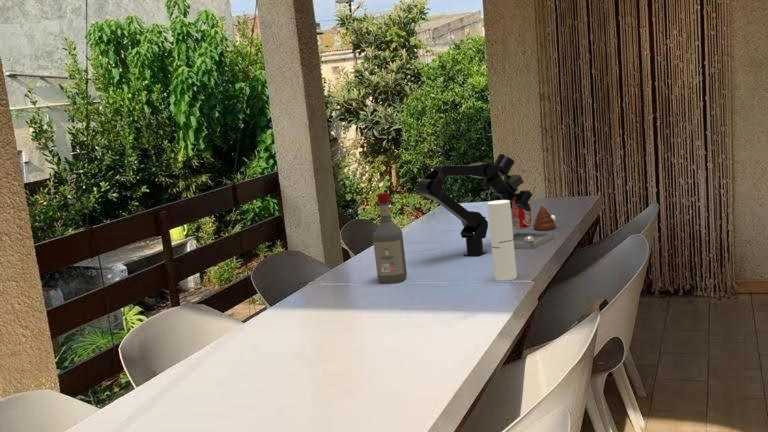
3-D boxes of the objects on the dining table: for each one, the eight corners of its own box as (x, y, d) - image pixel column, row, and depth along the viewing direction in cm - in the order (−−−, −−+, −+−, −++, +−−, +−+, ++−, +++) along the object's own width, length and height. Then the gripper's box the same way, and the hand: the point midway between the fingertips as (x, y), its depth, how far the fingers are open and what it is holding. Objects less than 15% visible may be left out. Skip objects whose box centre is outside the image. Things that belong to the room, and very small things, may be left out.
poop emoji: (529, 229, 351) (527, 207, 349) (546, 225, 354) (544, 203, 353) (543, 232, 342) (541, 209, 340) (560, 228, 345) (559, 205, 344)
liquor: (403, 282, 286) (393, 194, 281) (377, 284, 288) (366, 196, 283) (408, 276, 294) (398, 190, 290) (382, 277, 296) (372, 192, 292)
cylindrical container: (516, 280, 272) (509, 203, 268) (493, 281, 274) (486, 204, 270) (517, 274, 279) (510, 199, 275) (495, 275, 280) (488, 201, 276)
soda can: (533, 225, 329) (531, 195, 327) (529, 229, 322) (527, 198, 320) (515, 226, 332) (513, 195, 329) (511, 230, 325) (509, 199, 323)
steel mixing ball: (531, 246, 316) (531, 236, 315) (523, 245, 318) (522, 236, 317) (536, 243, 318) (535, 234, 318) (527, 243, 321) (526, 234, 320)
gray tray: (532, 248, 314) (532, 243, 313) (494, 247, 323) (494, 242, 323) (553, 238, 328) (553, 233, 328) (516, 237, 337) (516, 232, 337)
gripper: (526, 169, 313) (550, 194, 321) (493, 167, 329) (517, 191, 336) (511, 193, 310) (536, 218, 318) (479, 191, 326) (504, 214, 334)
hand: (523, 210), depth 326 cm, fingers closed on soda can, 7 cm apart
